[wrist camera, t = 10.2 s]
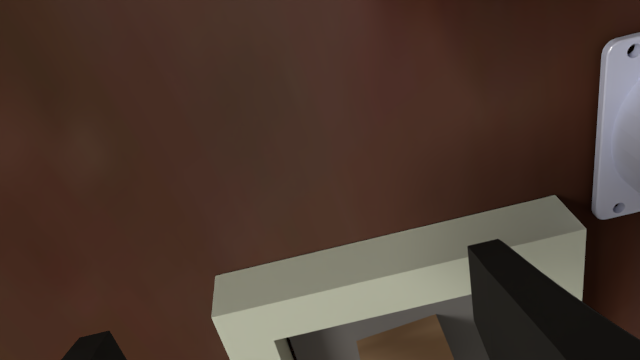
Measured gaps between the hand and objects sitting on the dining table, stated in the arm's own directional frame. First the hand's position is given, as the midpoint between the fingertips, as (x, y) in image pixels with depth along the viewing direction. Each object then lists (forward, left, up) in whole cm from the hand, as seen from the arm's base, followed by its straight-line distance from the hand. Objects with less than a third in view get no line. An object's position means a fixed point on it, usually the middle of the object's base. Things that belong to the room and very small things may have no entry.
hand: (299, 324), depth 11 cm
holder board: (-3, +14, -10) cm, 18 cm away
